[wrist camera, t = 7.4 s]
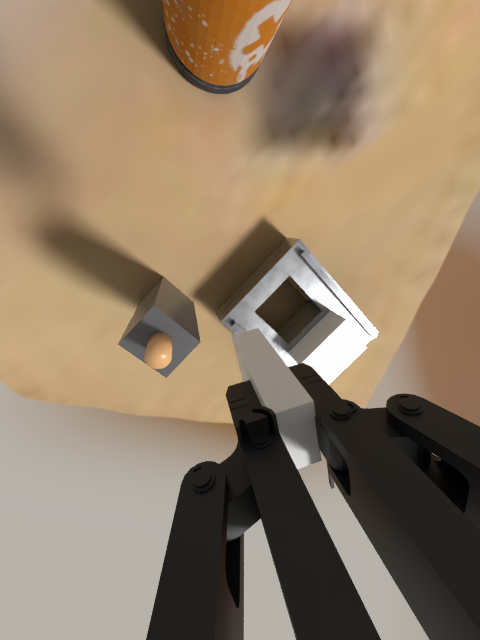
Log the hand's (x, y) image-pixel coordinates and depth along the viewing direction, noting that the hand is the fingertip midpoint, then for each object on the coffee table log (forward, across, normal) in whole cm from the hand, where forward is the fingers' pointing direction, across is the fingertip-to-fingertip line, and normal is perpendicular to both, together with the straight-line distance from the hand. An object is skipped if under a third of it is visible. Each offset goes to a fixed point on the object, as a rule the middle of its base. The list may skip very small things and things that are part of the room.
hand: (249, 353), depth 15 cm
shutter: (+14, +11, -11) cm, 21 cm away
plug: (+19, -5, -1) cm, 19 cm away
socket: (+18, +9, -6) cm, 21 cm away
